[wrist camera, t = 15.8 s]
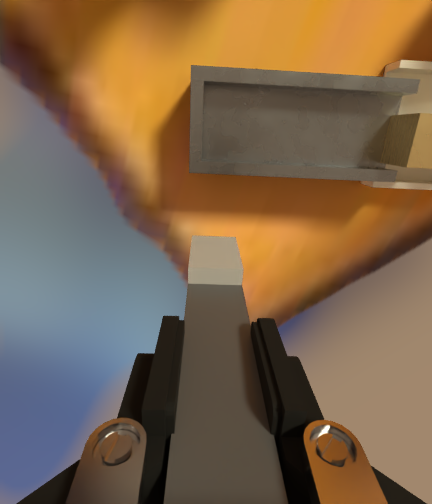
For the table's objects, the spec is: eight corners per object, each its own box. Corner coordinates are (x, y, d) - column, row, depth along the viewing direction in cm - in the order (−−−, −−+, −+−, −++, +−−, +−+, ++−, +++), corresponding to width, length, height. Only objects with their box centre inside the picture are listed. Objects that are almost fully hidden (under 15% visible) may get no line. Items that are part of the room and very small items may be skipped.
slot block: (380, 89, 30) (420, 79, 24) (362, 173, 33) (394, 182, 27) (194, 77, 29) (191, 65, 24) (192, 165, 32) (189, 172, 27)
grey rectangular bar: (235, 237, 17) (400, 908, 3) (230, 299, 19) (316, 935, 4) (192, 235, 17) (108, 926, 2) (190, 297, 19) (134, 947, 4)
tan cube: (434, 118, 27) (470, 116, 24) (421, 164, 29) (454, 169, 25) (390, 115, 27) (420, 112, 24) (379, 163, 29) (406, 167, 25)
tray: (477, 71, 30) (500, 66, 27) (441, 187, 34) (459, 191, 31) (385, 65, 29) (401, 59, 27) (360, 183, 33) (372, 187, 31)
